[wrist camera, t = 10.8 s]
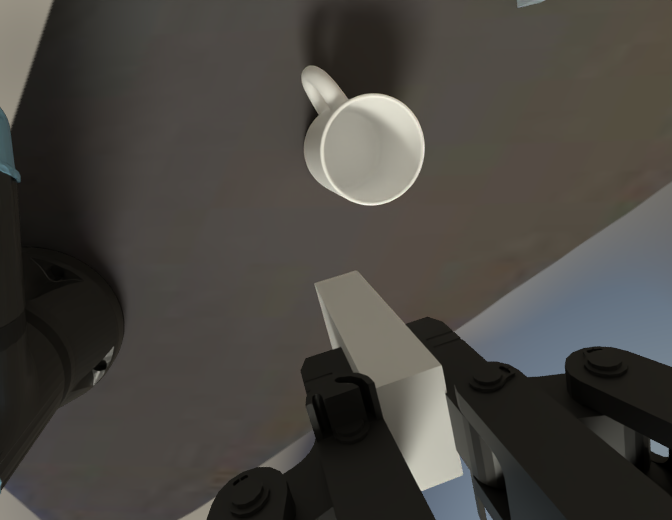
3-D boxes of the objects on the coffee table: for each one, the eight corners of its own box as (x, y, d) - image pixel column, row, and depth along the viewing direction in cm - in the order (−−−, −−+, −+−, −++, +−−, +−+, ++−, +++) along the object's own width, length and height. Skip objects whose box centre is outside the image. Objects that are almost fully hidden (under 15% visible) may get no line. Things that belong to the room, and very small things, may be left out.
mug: (262, 101, 40) (268, 88, 30) (335, 50, 40) (365, 21, 30) (332, 207, 44) (357, 226, 34) (398, 161, 44) (443, 166, 34)
